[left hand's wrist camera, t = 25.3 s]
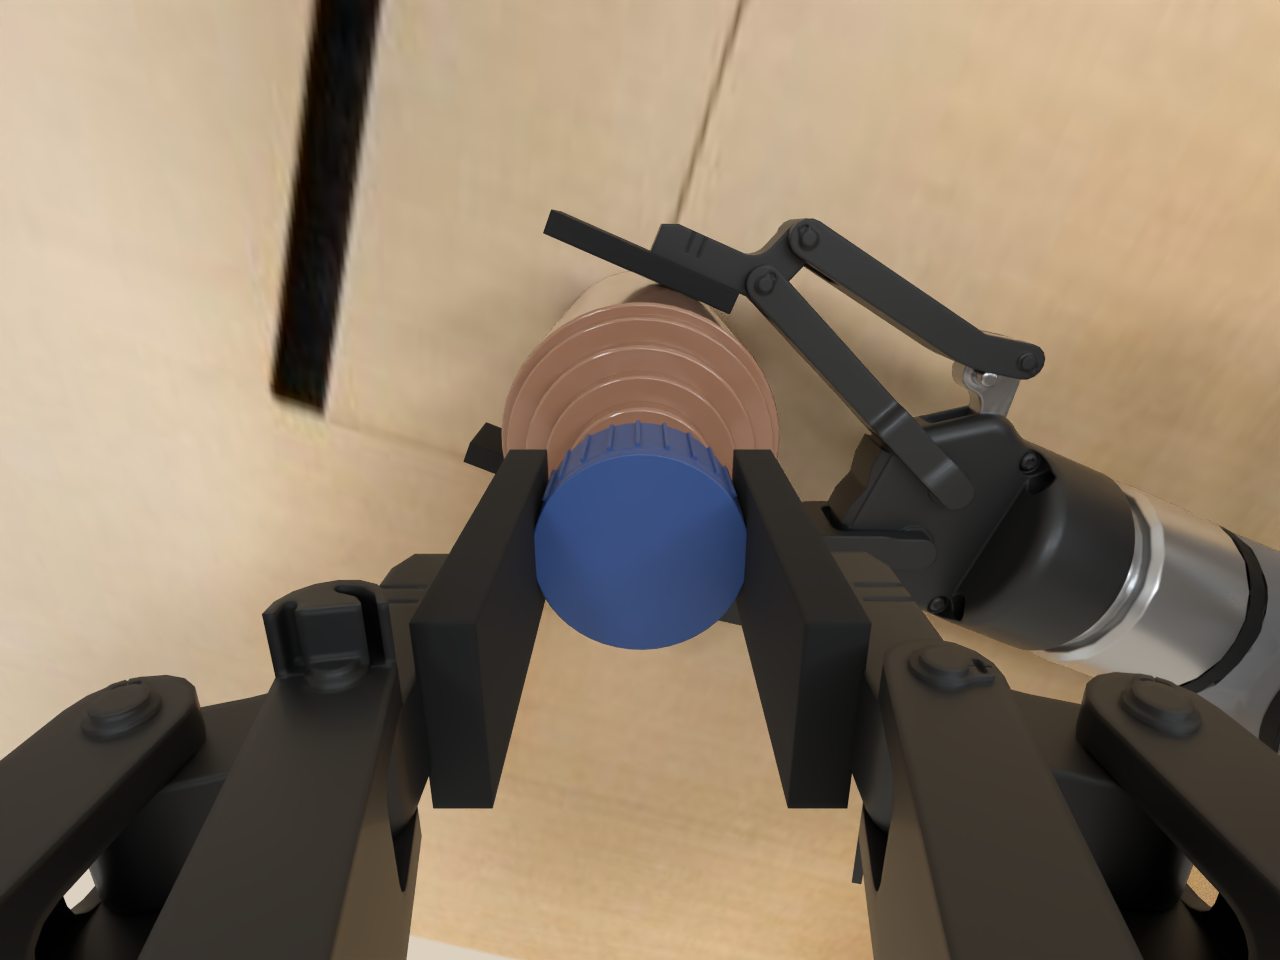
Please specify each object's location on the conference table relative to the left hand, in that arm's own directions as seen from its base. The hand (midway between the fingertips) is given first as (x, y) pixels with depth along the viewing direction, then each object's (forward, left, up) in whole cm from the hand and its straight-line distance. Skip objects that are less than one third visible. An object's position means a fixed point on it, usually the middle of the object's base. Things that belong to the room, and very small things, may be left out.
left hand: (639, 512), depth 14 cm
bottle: (0, 0, -18) cm, 18 cm away
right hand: (-4, -2, -11) cm, 12 cm away
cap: (0, 0, +2) cm, 2 cm away
